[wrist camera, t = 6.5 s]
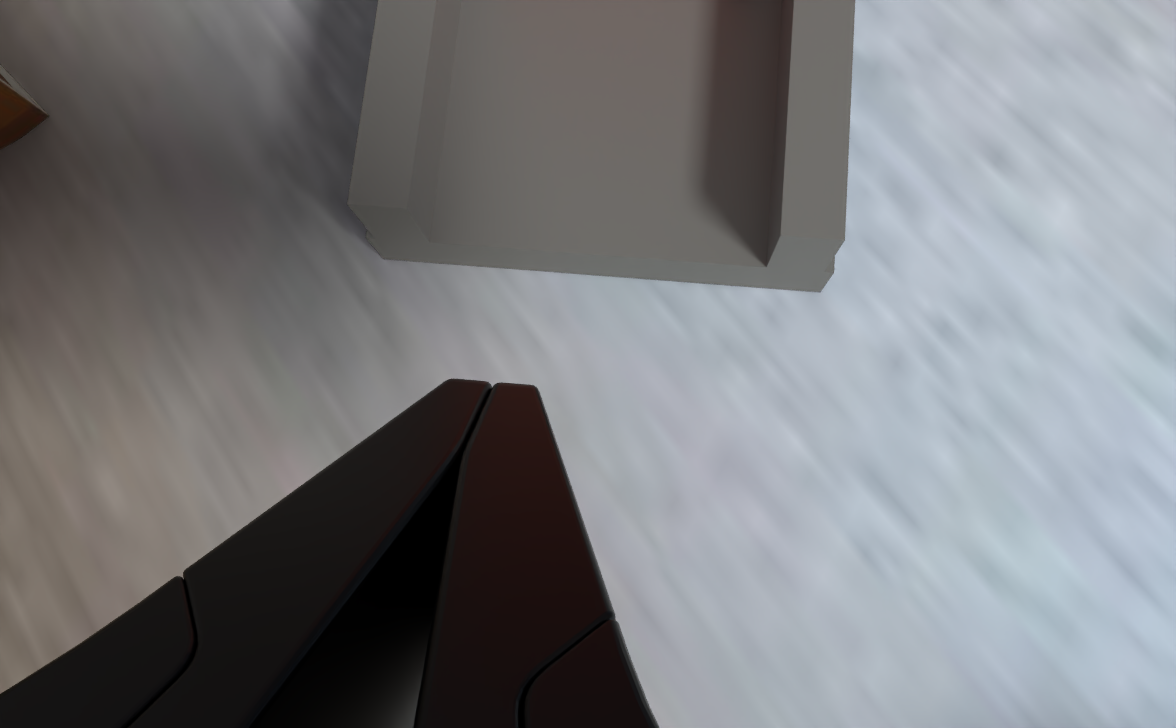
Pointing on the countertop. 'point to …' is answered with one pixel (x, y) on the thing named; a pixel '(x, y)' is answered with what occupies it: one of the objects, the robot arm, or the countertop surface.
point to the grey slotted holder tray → (610, 137)
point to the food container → (16, 110)
